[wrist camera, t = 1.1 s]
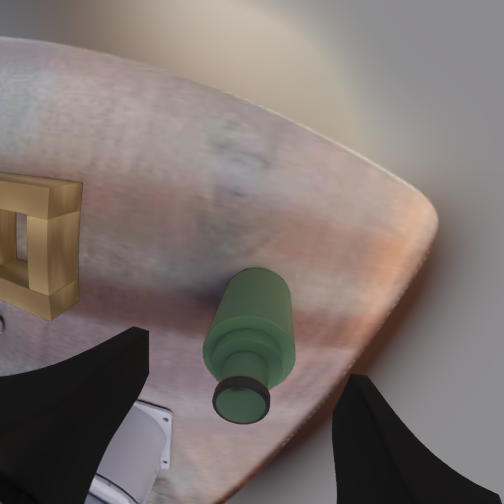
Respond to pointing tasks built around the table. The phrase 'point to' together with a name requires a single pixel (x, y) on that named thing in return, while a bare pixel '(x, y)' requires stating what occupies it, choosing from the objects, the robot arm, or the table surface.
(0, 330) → the light bulb
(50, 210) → the hole block
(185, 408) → the table surface
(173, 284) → the table surface
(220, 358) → the bottle
